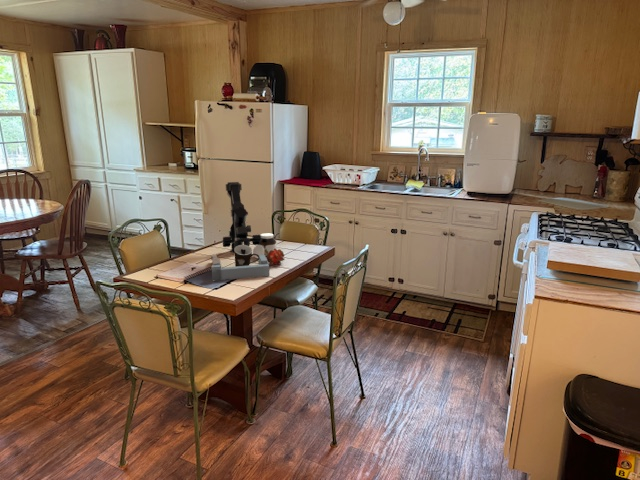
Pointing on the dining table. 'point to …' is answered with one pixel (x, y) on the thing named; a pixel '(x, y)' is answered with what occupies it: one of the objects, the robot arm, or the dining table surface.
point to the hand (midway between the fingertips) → (243, 255)
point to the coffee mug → (243, 255)
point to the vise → (241, 270)
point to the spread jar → (265, 245)
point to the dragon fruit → (275, 256)
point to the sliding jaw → (215, 260)
